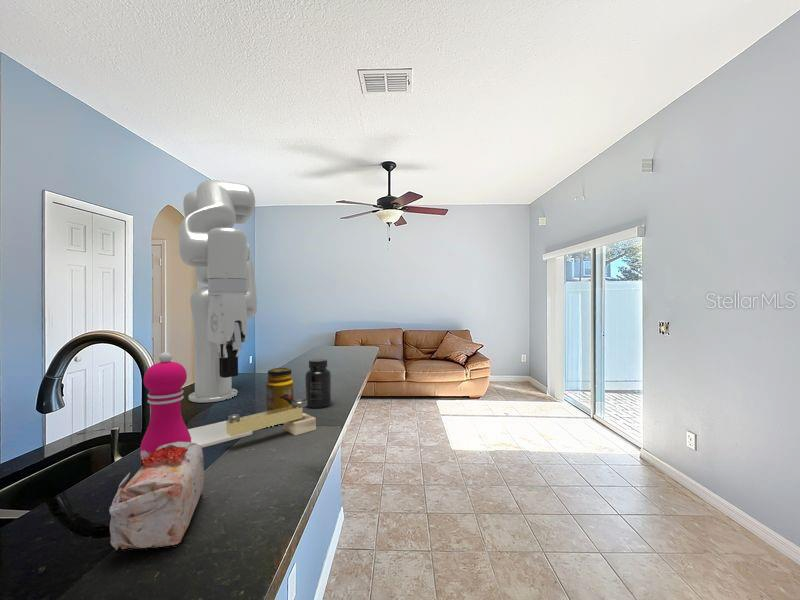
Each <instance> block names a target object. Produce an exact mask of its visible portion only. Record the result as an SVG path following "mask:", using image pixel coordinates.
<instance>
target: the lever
mask: <svg viewBox="0 0 800 600" xmlns="http://www.w3.org/2000/svg"><path fill="white" fill-rule="evenodd" d="M306 407H307V400H306V399H305V398H298V399H293V401H292V406H288V407H284V408H280V409H275V410H271V411H267V412H266V411H263V412H258V413H254V414H249V415H245V416H242V417H241V416H240V413H239V414H237V413H234V414H233V413H232V414H230V415H228V417H227V418H228V419H227V420H225V421H226V433H227V434H228V435H230V436H235V435H239V434H243V433H247V432H250V431H252V432H253V431H258V430H261V429H264V428H265V429H266V427H268V428H271V427H270V426H272V427H275V426H274V425H277V424H281V423H285V422H289V421H293V420H297V419H301V418H303V413H304V412H303V409H304V408H306Z"/></svg>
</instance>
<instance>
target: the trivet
mask: <svg viewBox="0 0 800 600" xmlns="http://www.w3.org/2000/svg"><path fill="white" fill-rule="evenodd" d="M226 421H227V420H224V421H217V422H214V423H210V424H205V425H202V426H198V427H197V426H196V427H193V428H187V429H188V431H189V433H190V436H191V442H192V443H196V444H198V445H202V446H203V447H202V449H203V448H206V447H210V446H214V445H217V444H218V445H219V444H221V443H222V444H223V443H225V442H229V441H232V440H237V439H240V438H244V437H247V436H251V435H253V431H250V432H247V433H243V434H239V435H235V436H230V435H228V434H227V433H226Z"/></svg>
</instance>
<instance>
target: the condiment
mask: <svg viewBox="0 0 800 600" xmlns="http://www.w3.org/2000/svg"><path fill="white" fill-rule="evenodd" d="M265 383H266V384H265V394H266V395H265V401H266V402H265V403H266V405H265V407H266V408H265V412H267V411H271V410H275V409H280V408H284V407H288V406H292V401H293V400H294V381H293V379H292V369H291V368H288V367H275V368H274V367H273V368H270V369H269V370H268V371H267V381H266V382H265ZM281 424H284V423H281Z"/></svg>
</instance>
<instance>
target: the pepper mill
mask: <svg viewBox="0 0 800 600" xmlns="http://www.w3.org/2000/svg"><path fill="white" fill-rule="evenodd" d="M172 359H173V356H172V354H171V353H170V352H166V351H165V352H162V353H160V354H159V356H158V360H159V362H156V363H154V364H152V365H150V366H149V367H148V368H147V369H146V371H145V373H144V375H143V385H144V387H145V389H147V390H148V392H149V393H148V394H147V398H148V399H147V403H148V404H149V405H150V419H149V421H148V425H147V429H146V431H145V434H144V435H143V437H142V439H141V443H140V447H139V457H140V459H141V458H142V456H141V451H142V450H144V451H146V452H150V453H153V452H154V451H155V450H156V449H157V448H158V447H159V446H162V445H165V444H169V443H174V442H191V436H190V433H189V431H188V429H189V428H188V427H187V426H186V424H185V421H184V418H183V416H182V411H181V410H182V409H181V401H182V400H183V399H184V398H185V397H184V396H185V395H184V394H183V393H184V390H183V389H182V387H183V386H185V384H186V382H187V379H188V378H187V377H188V374H187V370H186V368H185V367H184V366H183V365H182V364H181V363H178V362H176V361H171V360H172ZM142 461H144V460H142Z"/></svg>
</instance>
